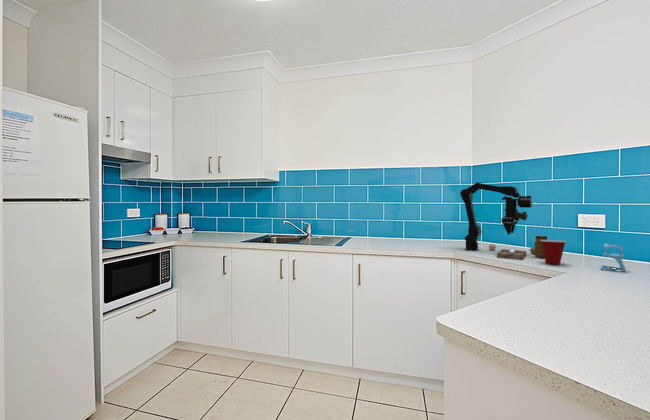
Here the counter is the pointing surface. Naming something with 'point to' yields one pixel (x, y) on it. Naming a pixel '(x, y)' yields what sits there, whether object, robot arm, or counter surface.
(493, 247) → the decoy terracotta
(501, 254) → the brown recessed board
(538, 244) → the condiment
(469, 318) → the counter surface
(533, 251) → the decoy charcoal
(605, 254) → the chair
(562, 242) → the plastic cup
